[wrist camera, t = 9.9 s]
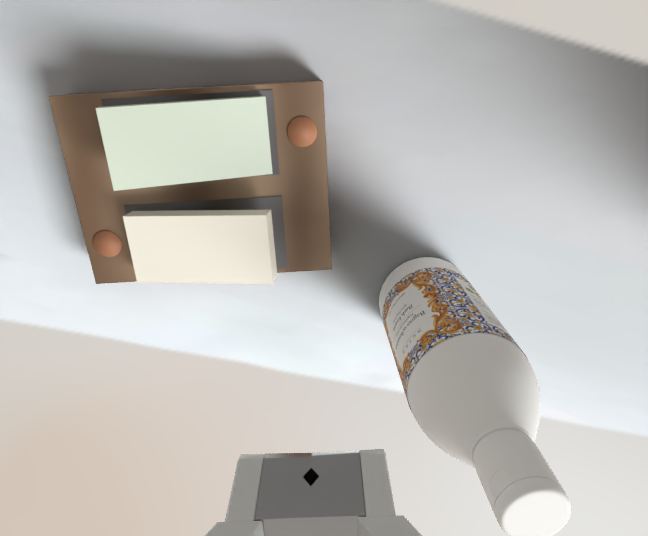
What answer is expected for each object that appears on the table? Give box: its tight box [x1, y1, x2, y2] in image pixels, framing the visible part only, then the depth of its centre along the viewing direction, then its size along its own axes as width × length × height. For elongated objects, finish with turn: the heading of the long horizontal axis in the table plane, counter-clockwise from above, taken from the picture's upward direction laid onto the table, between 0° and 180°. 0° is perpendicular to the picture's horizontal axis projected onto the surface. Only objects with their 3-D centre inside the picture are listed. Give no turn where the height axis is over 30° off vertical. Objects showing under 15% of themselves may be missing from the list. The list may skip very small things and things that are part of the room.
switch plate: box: [49, 80, 332, 284], centre depth 32 cm, size 16×12×4 cm
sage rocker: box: [96, 96, 273, 191], centre depth 28 cm, size 9×4×1 cm, turn 93°
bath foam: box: [379, 257, 571, 536], centre depth 28 cm, size 7×7×20 cm
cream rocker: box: [123, 210, 277, 284], centre depth 30 cm, size 9×4×1 cm, turn 93°
